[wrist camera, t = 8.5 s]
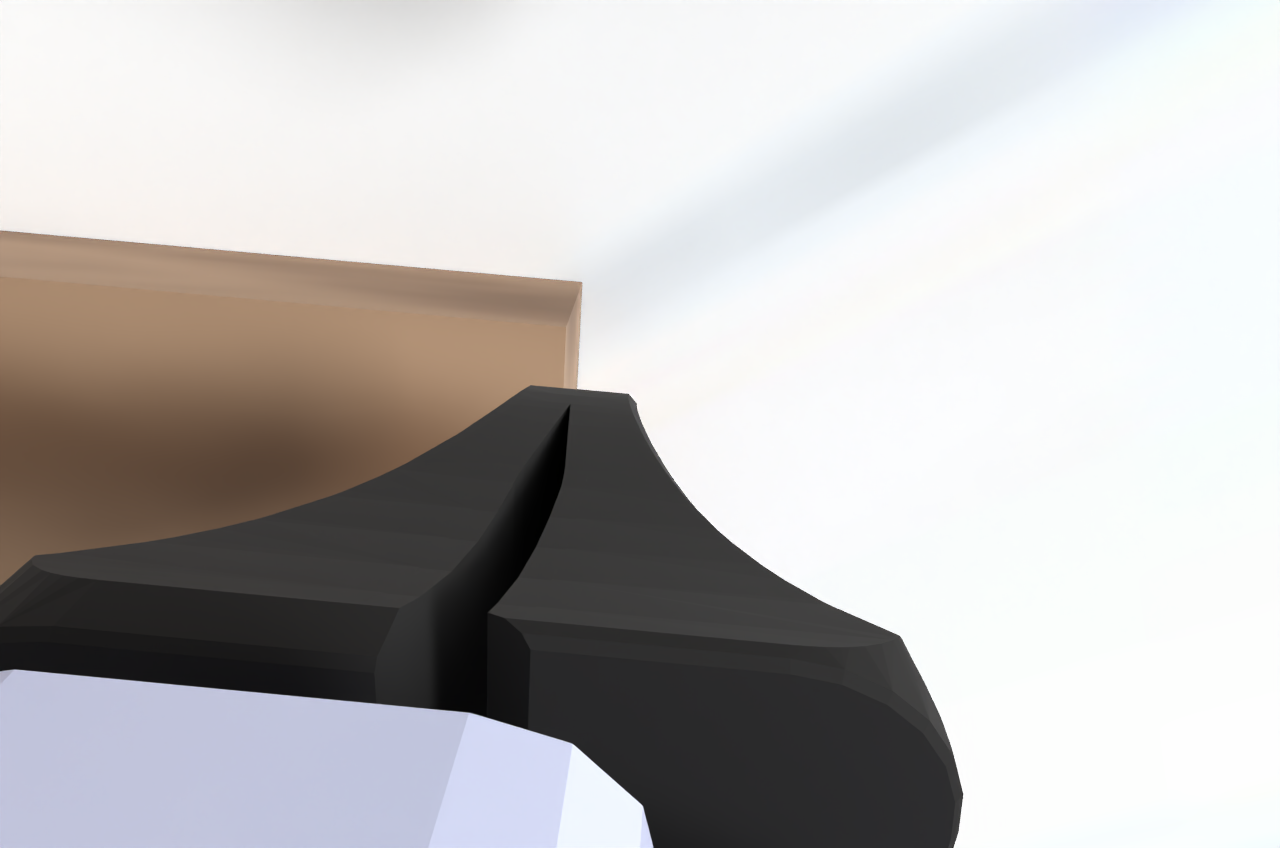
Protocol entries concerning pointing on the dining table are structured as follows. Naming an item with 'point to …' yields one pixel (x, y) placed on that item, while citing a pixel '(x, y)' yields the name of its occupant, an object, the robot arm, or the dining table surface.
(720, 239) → the dining table surface
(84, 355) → the board
